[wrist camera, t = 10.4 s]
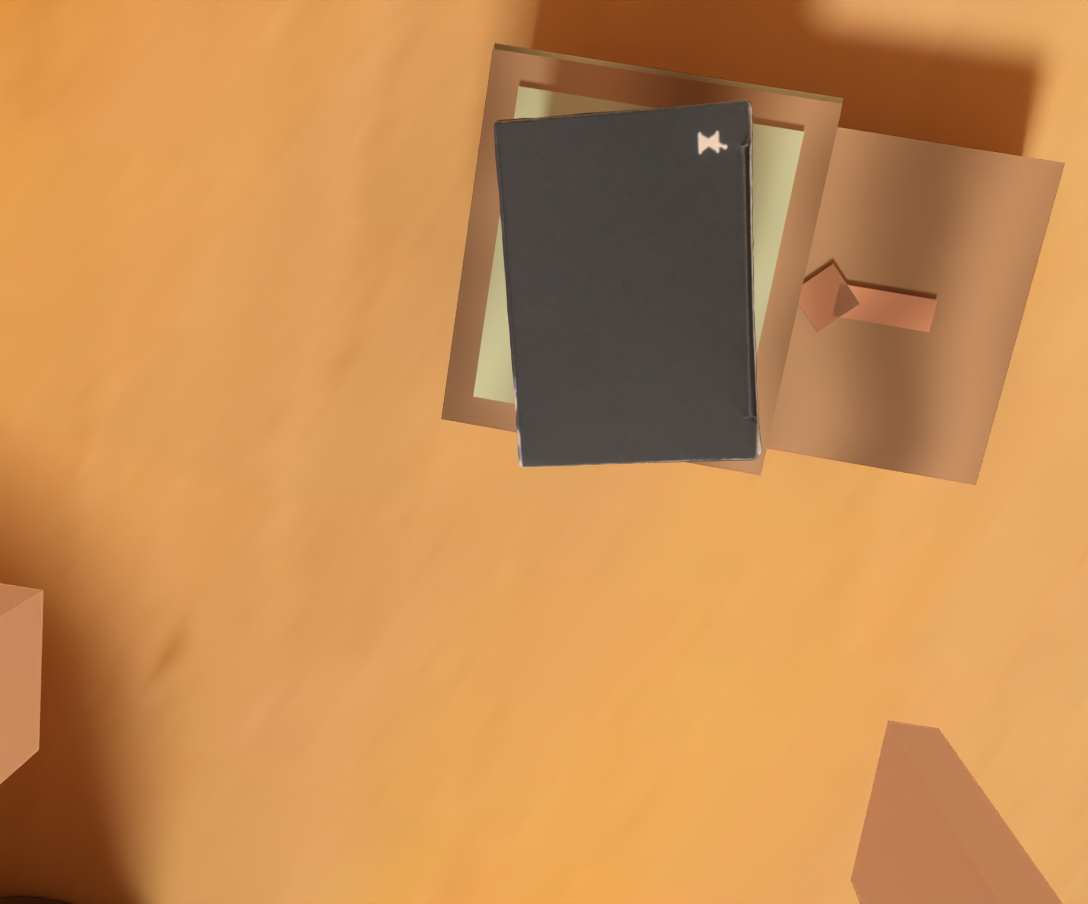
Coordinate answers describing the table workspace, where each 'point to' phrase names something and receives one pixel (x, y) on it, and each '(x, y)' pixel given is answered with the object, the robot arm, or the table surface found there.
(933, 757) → the robot arm
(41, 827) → the table surface
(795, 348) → the stand
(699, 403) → the box
